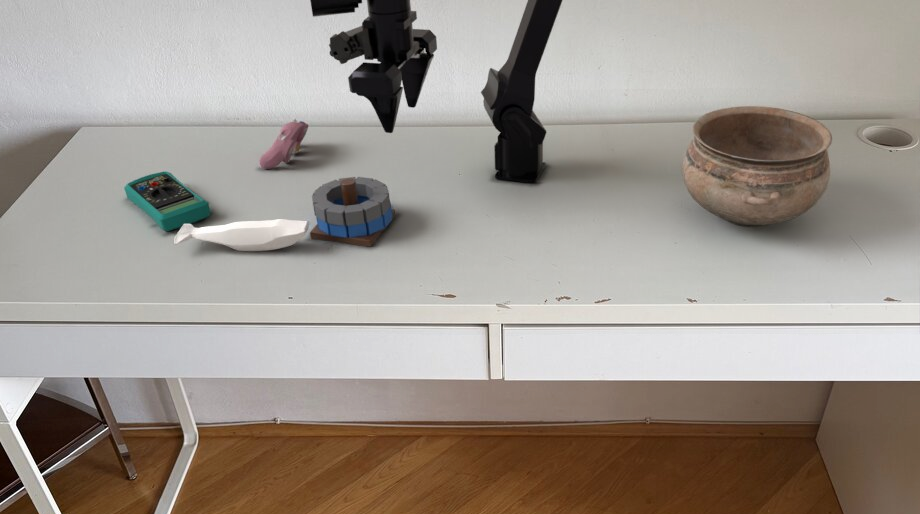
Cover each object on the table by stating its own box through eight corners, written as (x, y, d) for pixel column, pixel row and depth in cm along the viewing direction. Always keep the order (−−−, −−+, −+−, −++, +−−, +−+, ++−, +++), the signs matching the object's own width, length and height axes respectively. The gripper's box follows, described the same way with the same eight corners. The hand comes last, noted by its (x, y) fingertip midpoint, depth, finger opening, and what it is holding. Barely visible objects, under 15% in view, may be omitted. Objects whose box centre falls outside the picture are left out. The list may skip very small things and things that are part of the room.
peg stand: (395, 215, 125) (391, 170, 121) (370, 247, 118) (364, 200, 114) (338, 208, 127) (332, 163, 123) (310, 238, 121) (302, 192, 117)
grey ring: (400, 194, 124) (399, 181, 123) (371, 229, 116) (369, 216, 115) (334, 186, 127) (332, 173, 125) (301, 220, 119) (298, 207, 118)
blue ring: (403, 206, 125) (401, 193, 124) (373, 241, 117) (372, 228, 116) (337, 197, 128) (335, 185, 127) (304, 231, 120) (302, 219, 119)
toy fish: (306, 258, 116) (301, 232, 114) (175, 257, 118) (168, 231, 116) (315, 238, 121) (311, 212, 118) (189, 236, 122) (182, 211, 120)
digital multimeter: (171, 183, 136) (166, 166, 134) (213, 217, 126) (209, 199, 125) (125, 199, 132) (120, 181, 131) (165, 235, 123) (160, 216, 121)
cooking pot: (834, 266, 110) (856, 177, 103) (680, 258, 113) (691, 171, 106) (804, 176, 130) (821, 97, 123) (674, 172, 133) (683, 94, 125)
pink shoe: (282, 180, 139) (294, 144, 135) (255, 167, 138) (267, 130, 134) (304, 154, 147) (316, 119, 142) (279, 141, 146) (290, 106, 142)
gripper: (360, -14, 126) (373, 91, 135) (303, 27, 112) (322, 141, 121) (434, -12, 123) (441, 96, 132) (384, 31, 109) (397, 148, 118)
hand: (400, 119), depth 126 cm, fingers open, 9 cm apart
